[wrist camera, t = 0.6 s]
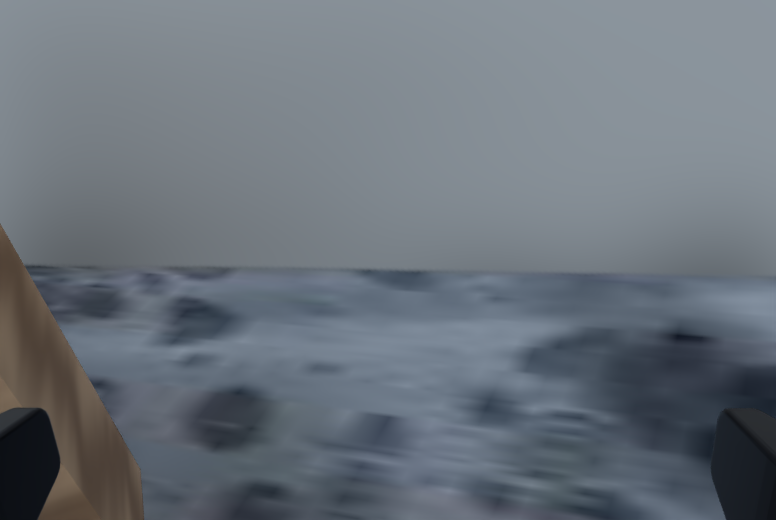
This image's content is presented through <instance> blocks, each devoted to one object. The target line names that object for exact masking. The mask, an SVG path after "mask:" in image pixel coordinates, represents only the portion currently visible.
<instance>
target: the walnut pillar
mask: <svg viewBox="0 0 776 520" xmlns="http://www.w3.org/2000/svg"><path fill="white" fill-rule="evenodd" d="M16 407H22V408H42V409H44V410H45V411H46V412H47V413H48V415H49V417H50V420H51V424H52V428H53V431H54V435H55V439H56V442H57V446H58V450H59V453H60V462H61V463H60V470H59V473H58V476H57V479H56V481H55V483H54V485H53V487H52V489H51V492H50V494H49V496H48V498H47V500H46V503H45V505H44V507H43V509H42V511H41V513H40V516H39V518H38V520H144V511H143V498H142V485H141V471H140V468H139V466H138V464H137V463H136V461H135V459H134V457H133V456H132V454H131V452H130V450H129V449H128V447H127V445H126V443H125V442H124V440H123V438H122V436H121V435H120V433H119V431H118V429H117V428H116V426H115V424H114V422H113V421H112V419H111V417H110V415H109V414H108V412H107V410H106V408H105V407H104V405H103V403H102V401H101V400H100V398H99V396H98V394H97V393H96V391H95V389H94V387H93V385H92V384H91V382H90V380H89V378H88V377H87V375H86V373H85V371H84V370H83V368H82V366H81V364H80V363H79V361H78V359H77V357H76V356H75V354H74V352H73V350H72V349H71V347H70V345H69V343H68V342H67V340H66V338H65V336H64V335H63V333H62V331H61V329H60V328H59V326H58V324H57V322H56V321H55V319H54V317H53V315H52V314H51V312H50V310H49V308H48V307H47V305H46V303H45V301H44V300H43V298H42V296H41V294H40V293H39V291H38V289H37V287H36V286H35V284H34V282H33V280H32V279H31V277H30V275H29V273H28V272H27V270H26V268H25V266H24V265H23V263H22V261H21V259H20V257H19V256H18V254H17V252H16V251H15V249H14V247H13V245H12V244H11V242H10V240H9V238H8V236H7V235H6V233H5V231H4V229H3V228H2V226H1V224H0V413H2V412H5V411H7V410H9V409H12V408H16Z"/></svg>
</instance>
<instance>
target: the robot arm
mask: <svg viewBox="0 0 776 520" xmlns="http://www.w3.org/2000/svg"><path fill="white" fill-rule="evenodd" d="M60 463H61V462H60V453H59V450H58V446H57V442H56V439H55V435H54V431H53V428H52V424H51V420H50V417H49V415H48V413H47V412H46V411H45V410H44V409H42V408H22V407H16V408H12V409H9V410H7V411H5V412H2V413H0V520H38V518H39V516H40V513H41V511H42V509H43V507H44V505H45V503H46V500H47V498H48V496H49V494H50V492H51V489H52V487H53V485H54V483H55V481H56V479H57V476H58V473H59V470H60ZM711 474H712V479H713V482H714V485H715V488H716V491H717V494H718V497H719V500H720V503H721V506H722V509H723V511H724V514H725V517H726V520H776V419H775V418H773V417H771V416H769V415H768V414H766V413H764V412H762V411H760V410H758V409H753V408H727V409H724V410H723V411H722V412H721V413H720V415H719V417H718V421H717V427H716V433H715V439H714V446H713V452H712V458H711Z"/></svg>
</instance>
